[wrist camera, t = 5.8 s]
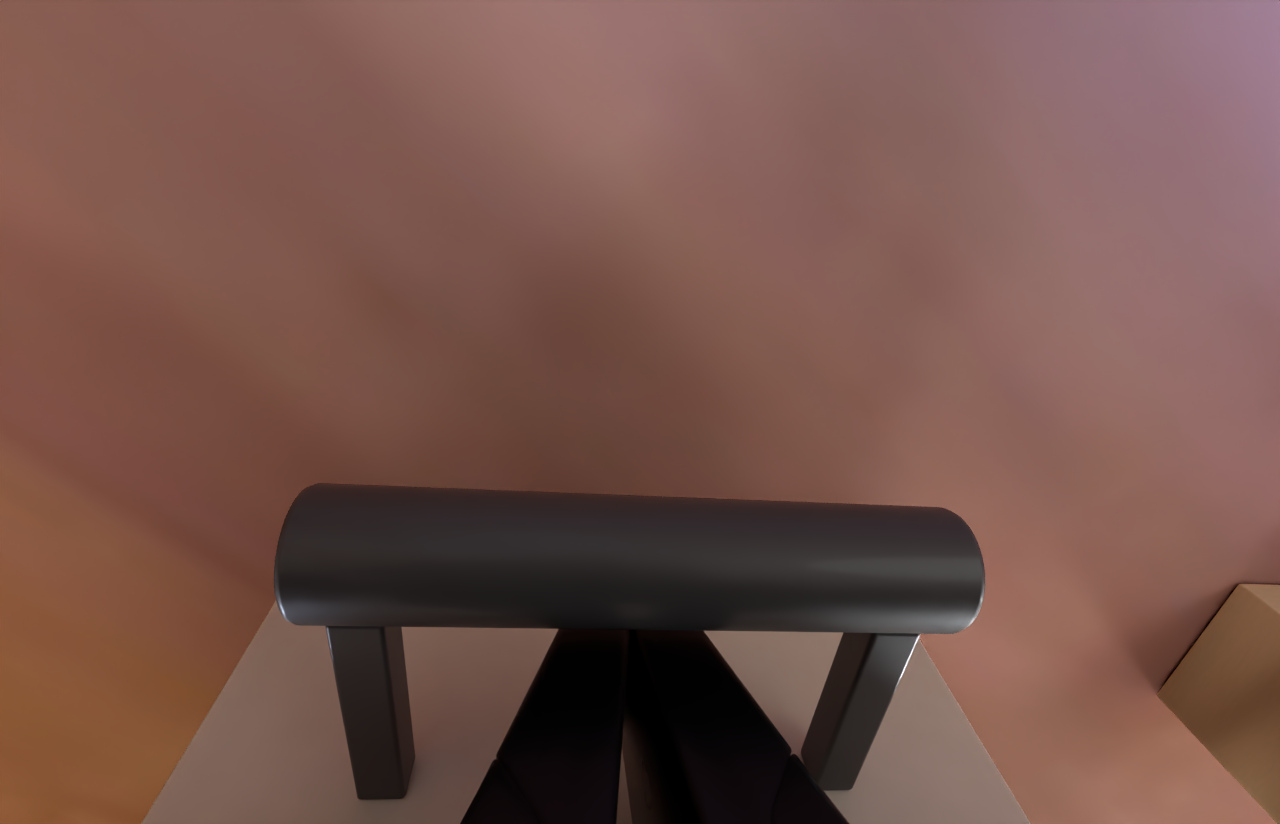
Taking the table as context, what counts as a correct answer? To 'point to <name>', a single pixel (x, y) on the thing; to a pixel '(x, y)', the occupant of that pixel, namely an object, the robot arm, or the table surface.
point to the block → (1236, 691)
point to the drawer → (585, 599)
